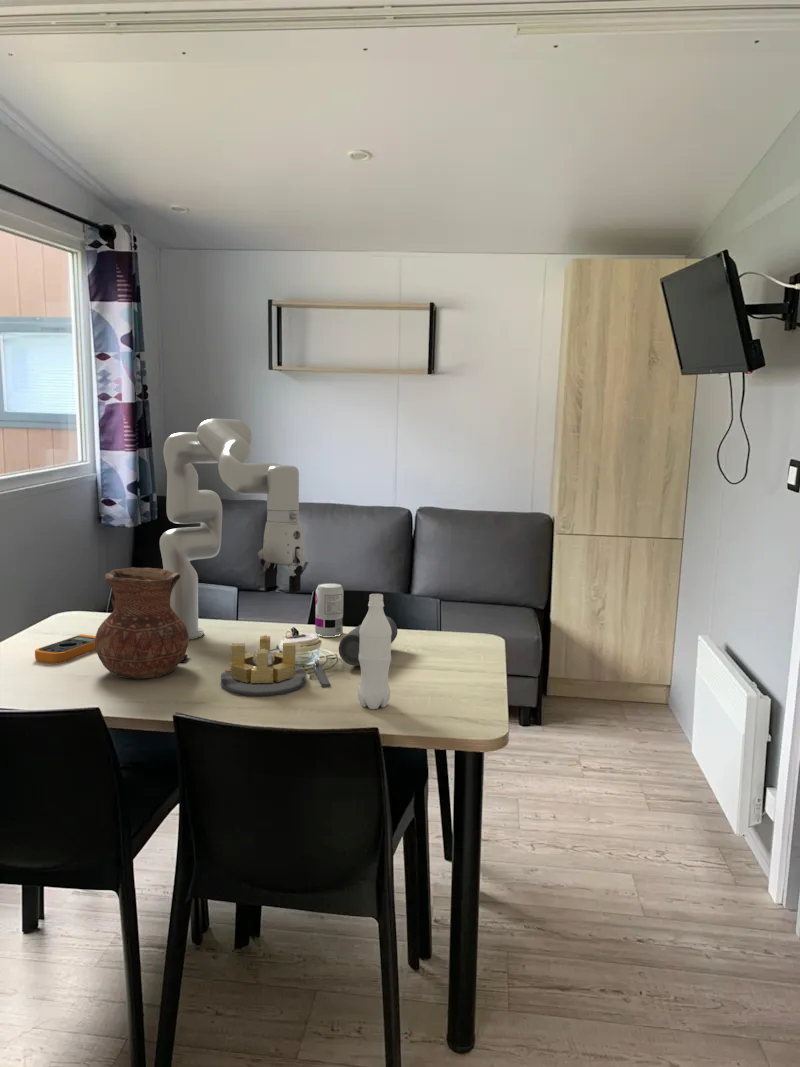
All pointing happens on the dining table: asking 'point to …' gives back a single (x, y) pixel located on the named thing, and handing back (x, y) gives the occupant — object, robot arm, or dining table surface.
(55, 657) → the multimeter
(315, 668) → the pin spanner
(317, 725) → the dining table surface
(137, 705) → the dining table surface
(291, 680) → the housing
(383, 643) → the water bottle
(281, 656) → the ring nut
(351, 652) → the bluetooth speaker
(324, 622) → the supplement can
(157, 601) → the clay pot
